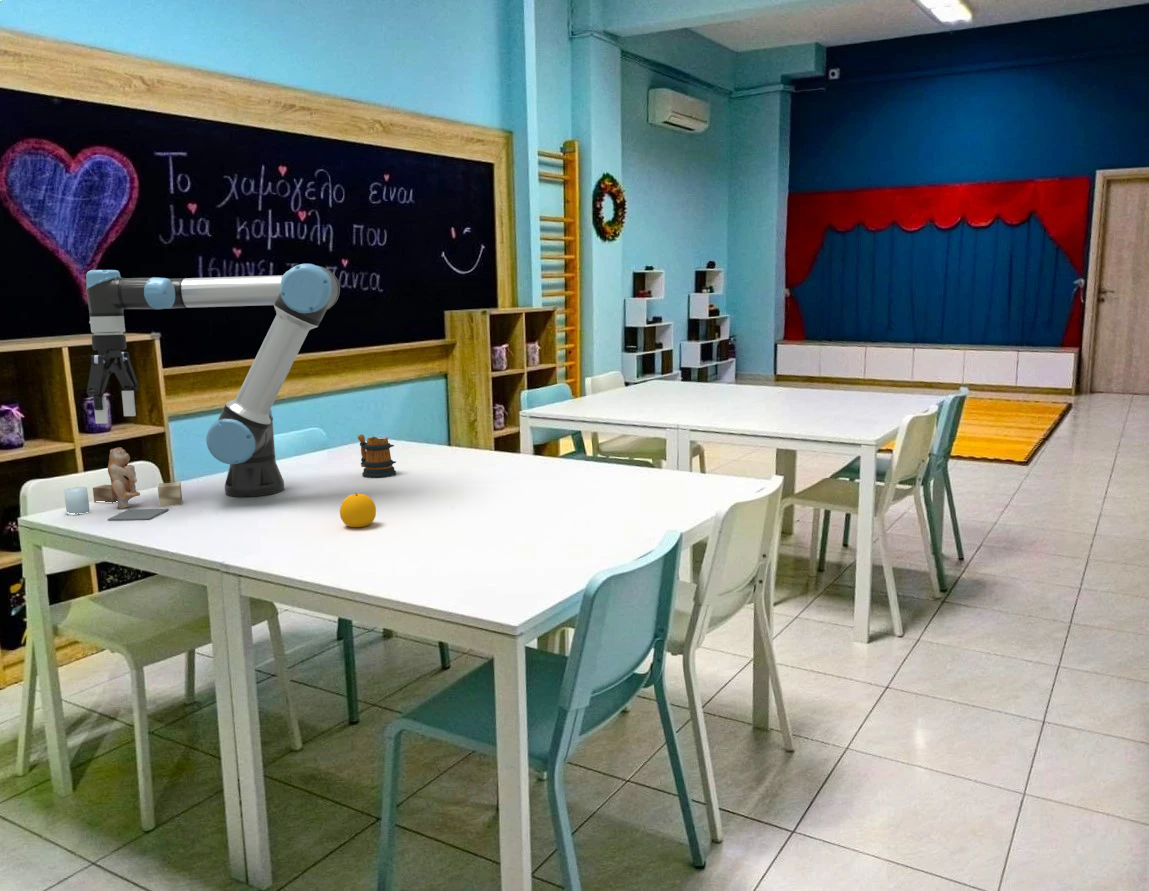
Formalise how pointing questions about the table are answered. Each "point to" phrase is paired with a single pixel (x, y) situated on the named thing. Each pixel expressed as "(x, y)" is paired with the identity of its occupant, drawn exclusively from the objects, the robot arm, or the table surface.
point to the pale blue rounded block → (77, 500)
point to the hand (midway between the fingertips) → (116, 419)
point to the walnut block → (104, 494)
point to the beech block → (170, 494)
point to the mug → (376, 457)
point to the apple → (357, 510)
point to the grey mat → (137, 514)
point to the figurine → (122, 477)
